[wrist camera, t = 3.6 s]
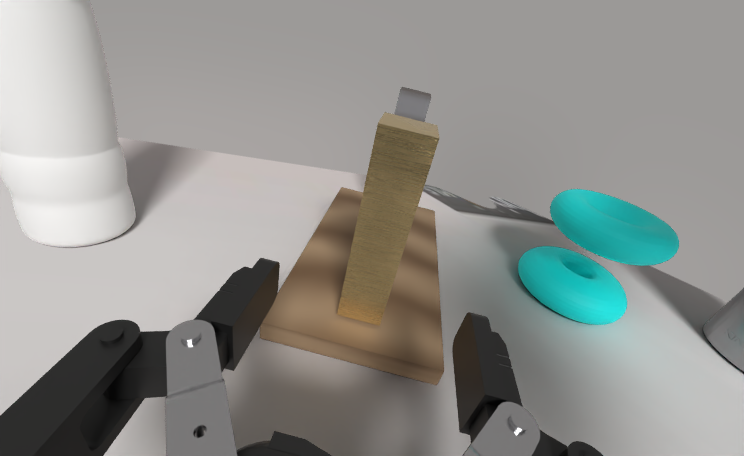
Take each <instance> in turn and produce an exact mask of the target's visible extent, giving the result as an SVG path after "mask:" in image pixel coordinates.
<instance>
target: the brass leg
mask: <svg viewBox="0 0 744 456" xmlns="http://www.w3.org/2000/svg"><path fill="white" fill-rule="evenodd" d="M438 140H439V134H438V127H437V125H434V124H430V123H426V122H422V121H418V120H414V119H410V118H406V117H402V116H398V115H394V114H390V113H386V112H385V113H384V114H383V116H382V118H381V119H380V121H379V122H378V126H377V131H376V135H375V140H374V145H373V149H372V154H371V159H370V163H369V168H368V173H367V177H366V182H365V187H364V191H363V196H362V201H361V205H360V210H359V214H358V219H357V224H356V228H355V233H354V238H353V242H352V247H351V252H350V256H349V261H348V266H347V270H346V275H345V280H344V284H343V289H342V294H341V298H340V303H339V308H338V312H337V315H341V316H345V317H348V318H352V319H356V320H360V321H363V322H367V323H371V324H375V325H379V326H380V323H381V320H382V317H383V314H384V310H385V307H386V304H387V301H388V298H389V295H390V292H391V288H392V285H393V282H394V279H395V276H396V273H397V270H398V267H399V263H400V260H401V257H402V254H403V251H404V248H405V245H406V241H407V238H408V235H409V232H410V229H411V226H412V223H413V219H414V216H415V213H416V210H417V207H418V204H419V201H420V197H421V194H422V191H423V188H424V185H425V182H426V179H427V175H428V172H429V169H430V166H431V163H432V159H433V157H434V153H435V150H436V147H437V144H438Z"/></svg>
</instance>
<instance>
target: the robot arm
mask: <svg viewBox="0 0 744 456" xmlns="http://www.w3.org/2000/svg"><path fill="white" fill-rule="evenodd" d="M279 266H280V265H279V262H275V261H272V260H268V259H264V258H260V259H259V260H258V261H257V263H256V264H255V265H254V267H253V268H248V267H243V268H241V269H240V270H238V271H236V272H234V273H233V274H232V275H231V276H230V278H229V279H228V280H227V281H226V283H225V284H224V285H223V286H222V287H221V288H220V290H219V291H218V292H217V293H216V294H215V295H214V297H213V298H212V299H211V300H210V301H209V302H208V304H207V305H206V306H205V307H204V308H203V310H202V311H201V312H200V313H199V314H198V315H197V317H196V318H195V319H194V320H190V321H186V322H183V323H181V324H179V325H177V326H176V327H174V328H173V329H172V330H171V331H154V332H140V329H139V326H138V325H137V324H136V323H134V322H132V321H129V320H115V321H111V322H107V323H105V324H102V325H100V326H98V327H97V328H95V329H94V330H92V331H91V332H90V333H89V334H88V335H87V336H86V337H84V338H83V339H82V340H81V341H80V342H79V343H78V344H77V345H76V346H75V347H74V348H73V349H72V350H70V351H69V352H68V353H67V354H66V355H65V356H64V357H63V358H62V359H61V360H60V361H59V362H58V363H56V364H55V365H54V366H53V367H52V368H51V369H50V370H49V371H48V372H47V373H46V374H45V375H44V376H43V377H41V378H40V379H39V380H38V381H37V382H36V383H35V384H34V385H33V386H32V387H31V388H30V389H29V390H27V391H26V392H25V393H24V394H23V395H22V396H21V397H20V398H19V399H18V400H17V401H16V402H15V403H13V404H12V405H11V406H10V407H9V408H8V409H7V410H6V411H5V412H4V413H3V414H2V415H1V416H0V456H103V455H104V454H105V452H106V451H107V450H108V448H109V447H110V446H111V444H112V443H113V441H114V440H115V439H116V437H117V436H118V435H119V433H120V432H121V430H122V429H123V428H124V426H125V425H126V423H127V422H128V421H129V419H130V418H131V417H132V415H133V414H134V412H135V411H136V410H137V408H138V407H139V406H140V404H141V403H142V401H143V400H144V399H145V398H150V397H165V396H167V397H166V399H165V415H166V456H331V455H330V454H328V453H326V452H325V451H323V450H322V449H320V448H318V447H317V446H315V445H314V444H312V443H310V442H309V441H307V440H306V439H302V438H298V437H295V436H291V435H287V434H284V433H280V432H276V431H274V434H273V436H272V439H271V441H263V442H257V443H254V444H250V445H247V446H245V447H243V448H240V449H238V450H237V451H236V446H235V440H234V434H233V429H232V423H231V417H230V411H229V405H228V400H227V394H226V388H225V383H224V379H223V378H222V371H223V370H224V368H226V369H229V370H233V371H234V370H235V368H236V366H237V364H238V363H239V361H240V359H241V358H242V356H243V354H244V353H245V351H246V349H247V348H248V346H249V344H250V342H251V341H252V339H253V337H254V336H255V334H256V332H257V331H258V329H259V327H260V325H261V324H262V322H263V320H264V319H265V317H266V315H267V314H268V312H269V310H270V309H271V307H272V305H273V303H274V301H275V299H276V296H277V291H278V280H279ZM703 331H704V334H705V336H706V337H707V339H708V340H709V341H710V343H711V344H712V345H713V346H714V347H715V348H716V349H717V350H718V351H719V352H720V353H721V354H722V355H723V356H724V357H725V358H727V359H728V360H729V361H730V362H731V363H733V364H734V365H735V366H737V367H738V368H739V369H741V370H742V371H743V372H744V288H743V289H742V290H741V291H740V292H739V293H738V294H737V295H736V296H735V297H733V298H732V299H731V300H730V301H729V302H728V303H727V304H726V305H725V306H724V307H723V308H722V309H720V310H719V311H718V312H717V313H716V314H715V315H714V316H713V317H712V318H711V319H710V320H709V321H708V322H707V323H706V324H705V325H704V326H703ZM453 363H454V374H455V385H456V396H457V407H458V419H459V430H460V432H461V433H465V434H468V435H470V438H471V444H470V446H469V447H468V449H467V450H466V451H465V453H464V454H463V456H603V455H602V454H601V453H600V452H599V451H597V450H596V449H595V448H593V447H592V446H590V445H588V444H586V443H584V442H579V441H576V442H573V443H571V444H570V445H569V446H568V447H567V446H566V445H564V444H562V443H560V442H559V441H557V440H555V439H554V438H552V437H550V436H548V435H547V434H545V433H544V432H542V431H541V430H540V429H539V427H538V424H537V422H536V421H535V419H534V418H533V416H532V415H531V414H530V413H529V412H528V411H527V410H526V409H525V408H523V406H522V403H521V399H520V395H519V392H518V388H517V384H516V381H515V377H514V373H513V370H512V369H511V367H512V366H511V362H510V359H509V355H508V351H507V347H506V344H505V343H504V341H503V340H502V338H501V337H500V335H499V334H498V333H496V332H492V331H491V328H490V323H489V320H488V318H487V317H485V316H481V315H478V314H474V313H470V312H469V313H467V314H466V316H465V318H464V320H463V322H462V324H461V326H460V328H459V330H458V332H457V334H456V336H455V338H454V342H453Z"/></svg>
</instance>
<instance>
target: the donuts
mask: <svg viewBox="0 0 744 456" xmlns="http://www.w3.org/2000/svg"><path fill="white" fill-rule="evenodd" d="M550 213H551V217H552V219H553V221H554V223H555V225H556V226H557V227H558V229H559V230H560V231H561V232H562V233H563V234H564V235H565V236H567V237H568V238H569V239H570V240H572V241H573V242H575V243H576V244H578V245H579V246H581V247H583V248H585V249H586V250H588V251H590V252H592V253H595V254H597V255H599V256H602V257H604V258H607V259H610V260H613V261H616V262H620V263H625V264H630V265H639V266H646V265H656V264H660V263H663V262H665V261H668V260H669V259H671V258H672V257H673V256H674V255H675V254H676V252H677V250H678V248H679V240H678V237H677V235H676V233H675V232H674V230H673V229H672V228H671V227H670V226H669V225H668V224H666V223H665V222H664V221H662V220H660V219H659V218H657V217H656V216H655V215H653V214H651V213H649V212H647V211H645V210H643V209H641V208H639V207H637V206H635V205H633V204H630V203H628V202H625V201H623V200H620V199H618V198H615V197H612V196H609V195H605V194H602V193H598V192H594V191H588V190H582V189H571V190H567V191H564V192H561V193H560V194H558V195H557V196H556V197H555V198H554V199H553V201H552V203H551V206H550ZM518 272H519V276H520V278H521V280H522V282H523V284H524V285H525V287H526V288H527V289H528V291H529V292H530V293H531V294H532V295H533V296H534V297H535V298H536V299H538V300H539V301H540V302H541V303H543V304H544V305H545V306H547V307H549V308H550V309H552V310H553V311H555V312H557V313H559V314H561V315H563V316H565V317H567V318H570V319H572V320H575V321H578V322H582V323H586V324H594V325H603V324H609V323H612V322H615V321H617V320H618V319H620V318H621V317H622V316H623V314H624V313H625V311H626V308H627V298H626V294H625V292H624V290H623V288H622V286H621V284H620V283H619V282H618V281H617V279H616V278H615V277H614V276H613V275H612V274H611V273H610V272H609V271H607V270H606V269H605V268H604V267H602V266H601V265H599V264H598V263H596V262H595V261H593V260H591V259H590V258H588V257H586V256H584V255H581V254H579V253H577V252H574V251H571V250H568V249H565V248H560V247H554V246H541V247H536V248H533V249H530V250H528V251H527V252H525V253H524V254H523V255H522V257H521V258H520V260H519V264H518Z"/></svg>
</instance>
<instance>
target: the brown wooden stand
mask: <svg viewBox="0 0 744 456" xmlns="http://www.w3.org/2000/svg"><path fill="white" fill-rule="evenodd" d="M430 100H431V94H429V93H424V92H421V91H417V90H413V89H409V88H405V87H402V88H401V90H400V93H399V97H398V101H397V106H396V110H395V114H394V115H398V116H402V117H406V118H410V119H414V120H418V121H422V122H424V121H425V118H426V114H427V111H428V107H429V103H430ZM362 196H363V193H362V192H358V191H355V190H351V189H347V188H343V187H341V189H340V191H339V192H338V194H337V196H336V197H335V199H334V201H333V202H332V204H331V206H330V207H329V209H328V211H327V212H326V214H325V216H324V217H323V219H322V221H321V222H320V224H319V226H318V227H317V229H316V231H315V232H314V234H313V236H312V237H311V239H310V241H309V242H308V244H307V246H306V247H305V249H304V251H303V252H302V254H301V256H300V257H299V259H298V261H297V262H296V264H295V266H294V267H293V269H292V271H291V272H290V274H289V276H288V277H287V279H286V281H285V282H284V284H283V286H282V287H281V289H280V291H279V292H278V294H277V296H276V299H275V301H274V303H273V305H272V307H271V309H270V310H269V312H268V314H267V315H266V317H265V319H264V320H263V322H262V324H261V325H260V338H261V339H265V340H269V341H273V342H276V343H280V344H284V345H288V346H291V347H295V348H299V349H303V350H306V351H310V352H314V353H318V354H321V355H325V356H329V357H333V358H336V359H340V360H344V361H348V362H351V363H355V364H359V365H363V366H366V367H370V368H374V369H378V370H381V371H385V372H389V373H393V374H396V375H400V376H404V377H408V378H411V379H415V380H419V381H422V382H426V383H430V384H434V385H437V384H438V382H439V380H440V378H441V376H442V374H443V372H444V361H443V344H442V327H441V311H440V294H439V278H438V261H437V245H436V228H435V211H433V210H429V209H425V208H421V207H417V210H416V213H415V216H414V219H413V223H412V226H411V229H410V232H409V235H408V238H407V241H406V245H405V248H404V251H403V254H402V257H401V260H400V263H399V267H398V270H397V273H396V276H395V279H394V282H393V285H392V288H391V292H390V295H389V298H388V301H387V304H386V307H385V310H384V314H383V317H382V320H381V323H380V326H379V325H375V324H371V323H367V322H363V321H360V320H356V319H352V318H348V317H345V316H341V315H337V312H338V308H339V303H340V298H341V294H342V289H343V284H344V280H345V275H346V270H347V266H348V261H349V256H350V252H351V247H352V242H353V238H354V233H355V228H356V224H357V219H358V214H359V210H360V205H361V201H362Z"/></svg>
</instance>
